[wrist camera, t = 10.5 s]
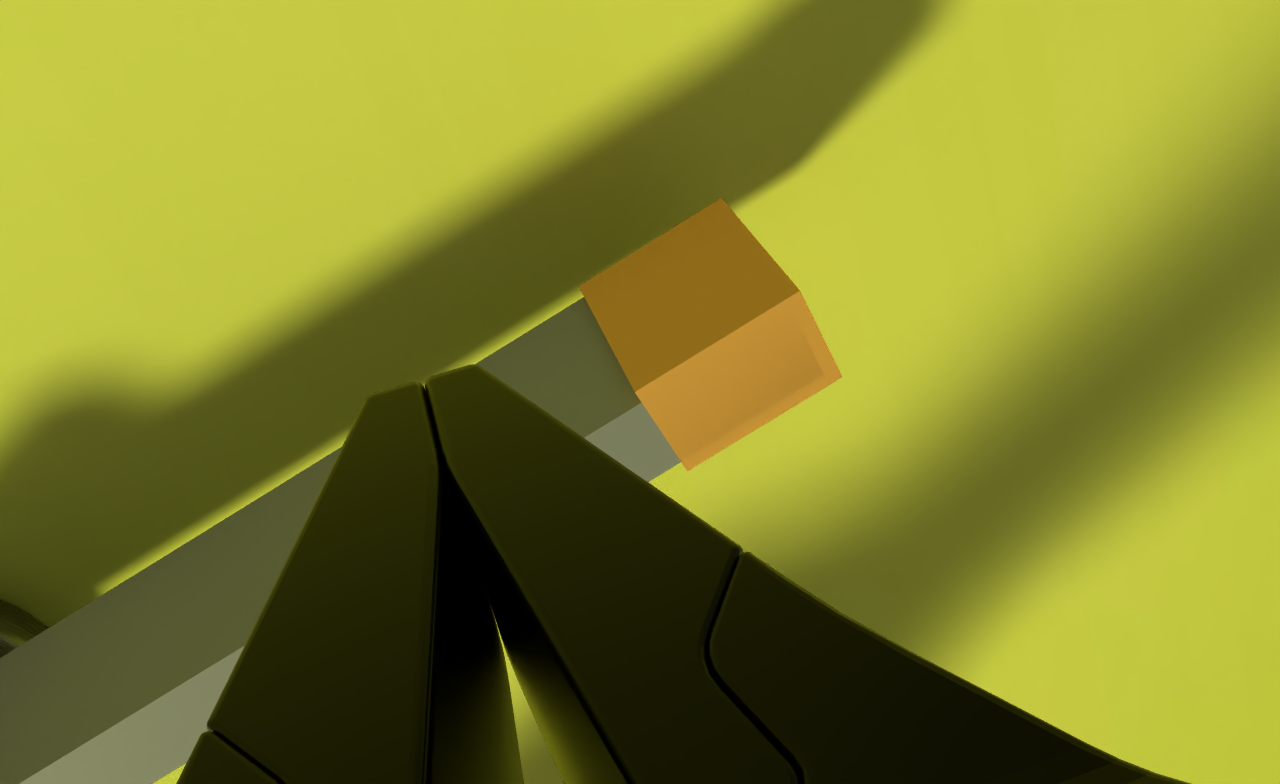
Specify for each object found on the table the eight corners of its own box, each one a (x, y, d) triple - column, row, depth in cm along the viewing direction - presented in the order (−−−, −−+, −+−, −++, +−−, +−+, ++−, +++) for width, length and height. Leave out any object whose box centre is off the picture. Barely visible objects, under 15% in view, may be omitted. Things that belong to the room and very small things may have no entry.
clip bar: (-107, 841, 18) (-169, 1083, 15) (-255, 767, 17) (-357, 1020, 14) (775, 301, 18) (889, 444, 15) (707, 170, 16) (819, 300, 13)
